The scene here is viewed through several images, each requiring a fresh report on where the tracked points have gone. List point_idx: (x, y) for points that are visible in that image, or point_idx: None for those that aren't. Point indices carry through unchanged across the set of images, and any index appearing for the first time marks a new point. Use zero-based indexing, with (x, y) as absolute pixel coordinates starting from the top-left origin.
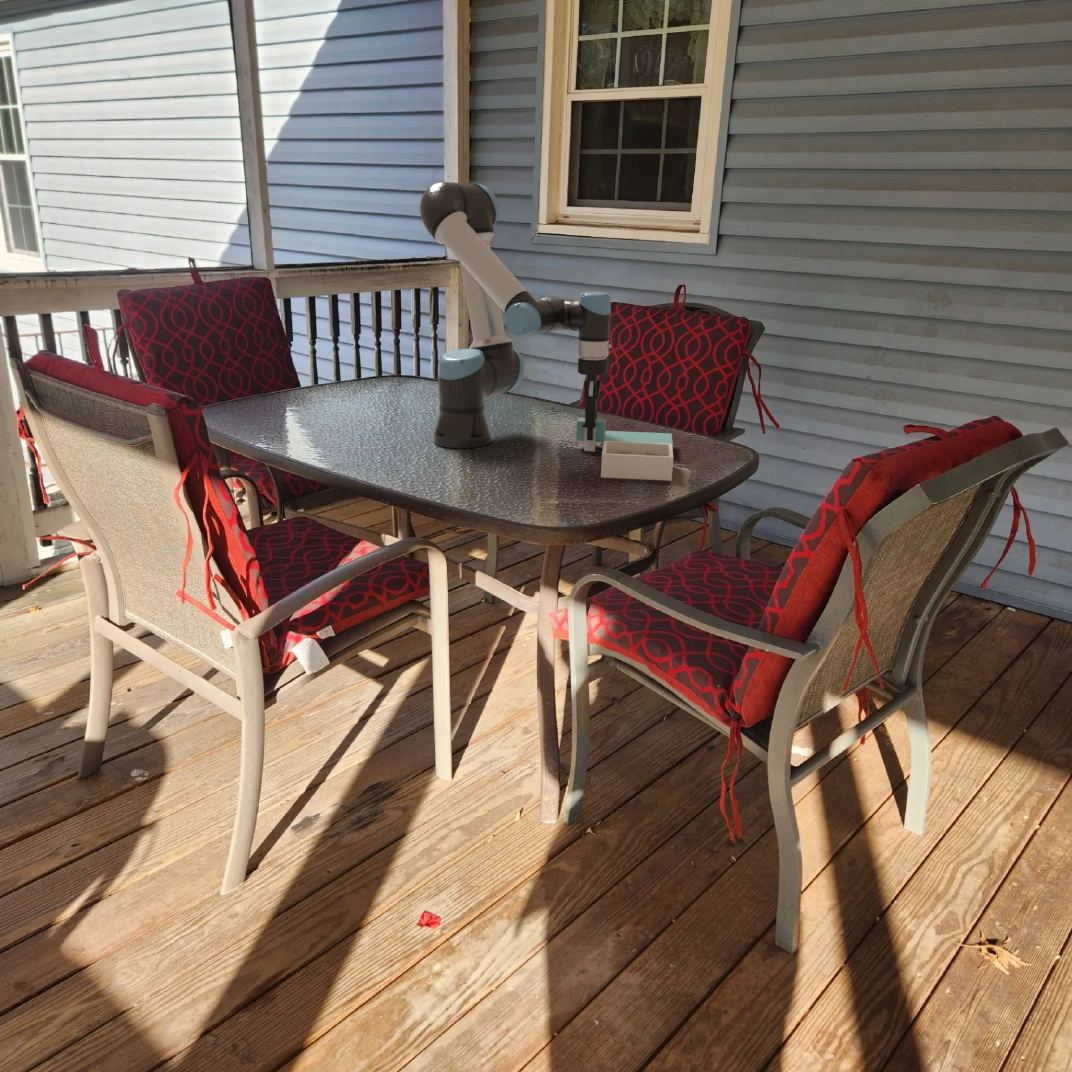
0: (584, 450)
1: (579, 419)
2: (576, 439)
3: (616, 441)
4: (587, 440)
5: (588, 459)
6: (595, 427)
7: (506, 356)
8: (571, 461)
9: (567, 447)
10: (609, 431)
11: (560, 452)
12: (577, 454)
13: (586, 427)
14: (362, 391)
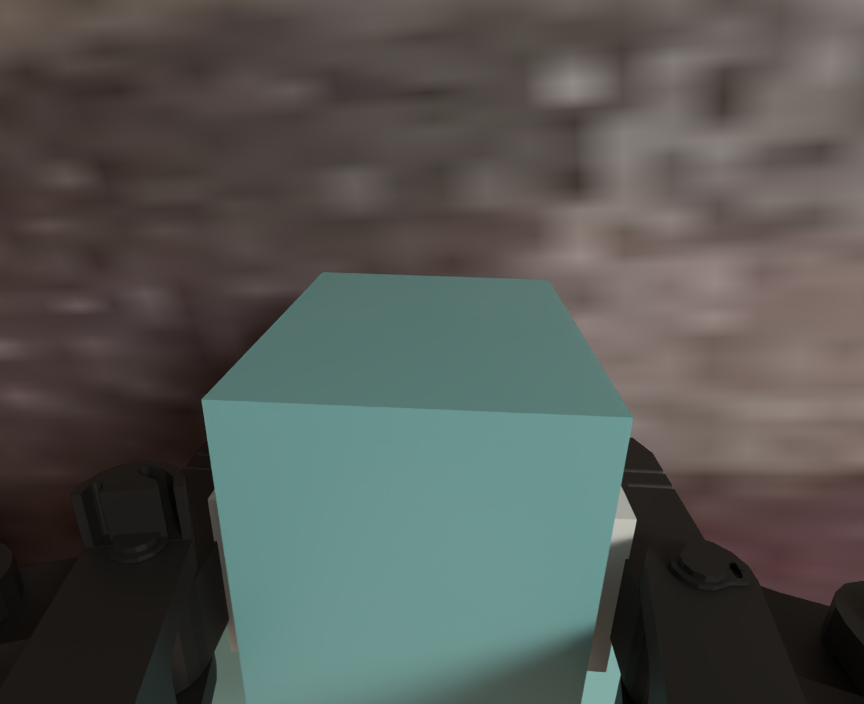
0: None
1: (421, 453)
2: (318, 277)
3: (243, 701)
4: None
5: (140, 369)
6: (232, 648)
7: None
8: (5, 206)
9: (578, 122)
10: None
11: (332, 45)
12: (291, 257)
13: (217, 519)
14: None
